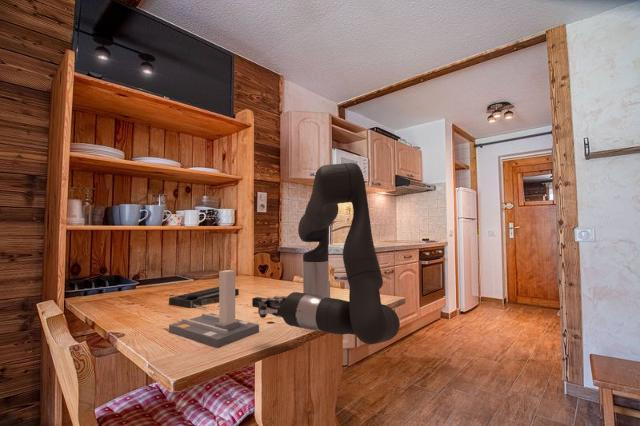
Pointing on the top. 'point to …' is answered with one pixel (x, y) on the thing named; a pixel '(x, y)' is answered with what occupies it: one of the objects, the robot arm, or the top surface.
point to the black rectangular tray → (197, 298)
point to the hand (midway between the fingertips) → (254, 301)
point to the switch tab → (227, 300)
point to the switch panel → (212, 330)
